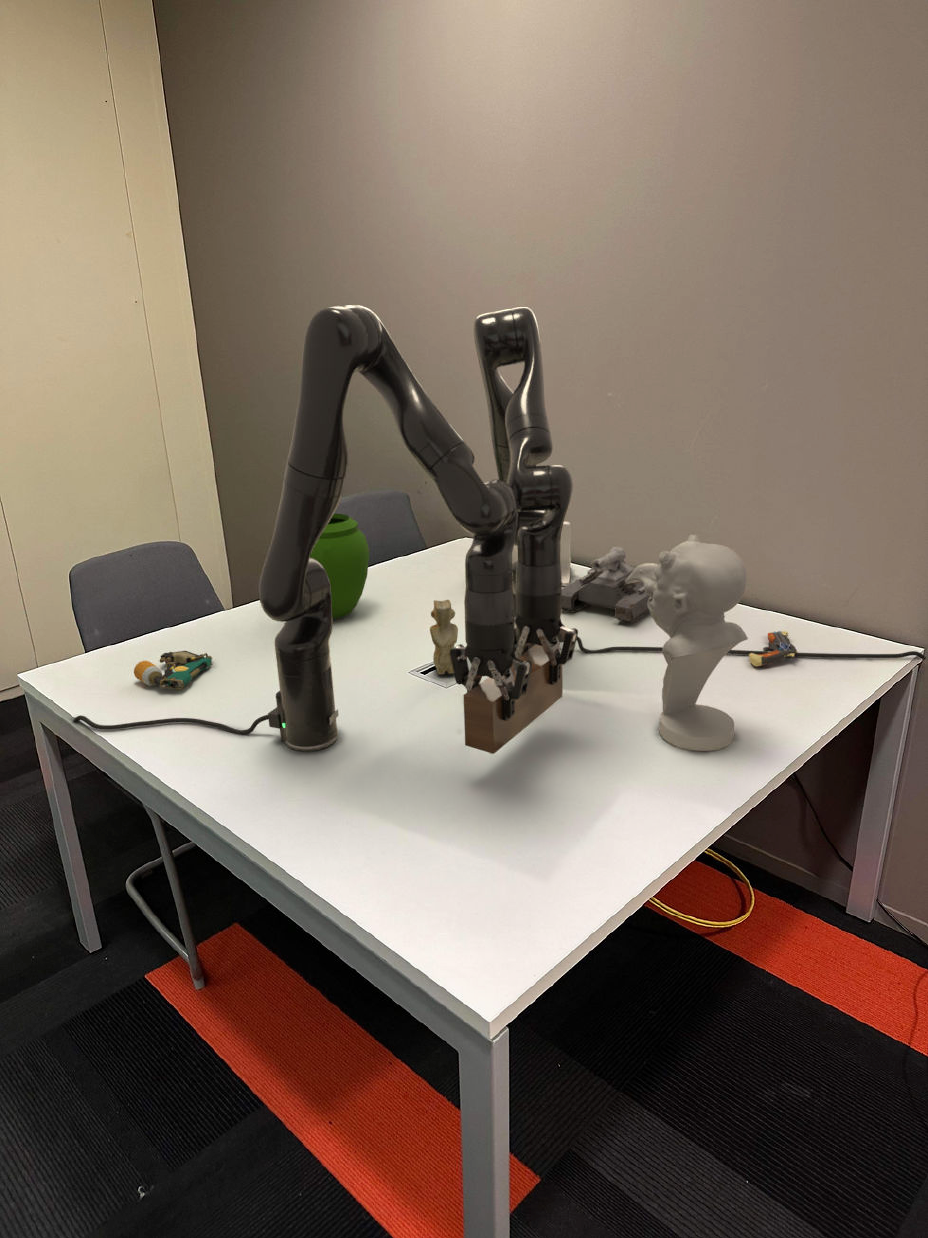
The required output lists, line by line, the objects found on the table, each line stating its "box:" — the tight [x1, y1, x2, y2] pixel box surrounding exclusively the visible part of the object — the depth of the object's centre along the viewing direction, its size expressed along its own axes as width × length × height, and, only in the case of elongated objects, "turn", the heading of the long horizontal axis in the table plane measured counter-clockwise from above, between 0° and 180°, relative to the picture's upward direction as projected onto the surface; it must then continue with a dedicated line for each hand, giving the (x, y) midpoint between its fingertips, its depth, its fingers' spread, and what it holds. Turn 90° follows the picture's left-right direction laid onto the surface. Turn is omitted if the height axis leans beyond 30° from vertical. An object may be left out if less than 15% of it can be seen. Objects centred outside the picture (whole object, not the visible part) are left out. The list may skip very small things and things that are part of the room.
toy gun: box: [748, 630, 799, 667], centre depth 183 cm, size 3×19×10 cm
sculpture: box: [429, 599, 459, 675], centre depth 177 cm, size 6×7×15 cm
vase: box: [310, 513, 370, 620], centre depth 209 cm, size 20×20×24 cm
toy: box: [561, 546, 650, 624], centre depth 212 cm, size 25×20×15 cm
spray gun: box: [133, 650, 213, 690], centre depth 180 cm, size 4×17×15 cm
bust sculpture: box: [625, 534, 749, 752], centre depth 149 cm, size 16×24×35 cm
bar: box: [463, 645, 564, 755], centre depth 141 cm, size 23×5×9 cm, turn 147°
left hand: (491, 713), depth 135 cm, fingers closed on bar, 5 cm apart
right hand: (538, 679), depth 147 cm, fingers closed on bar, 5 cm apart
